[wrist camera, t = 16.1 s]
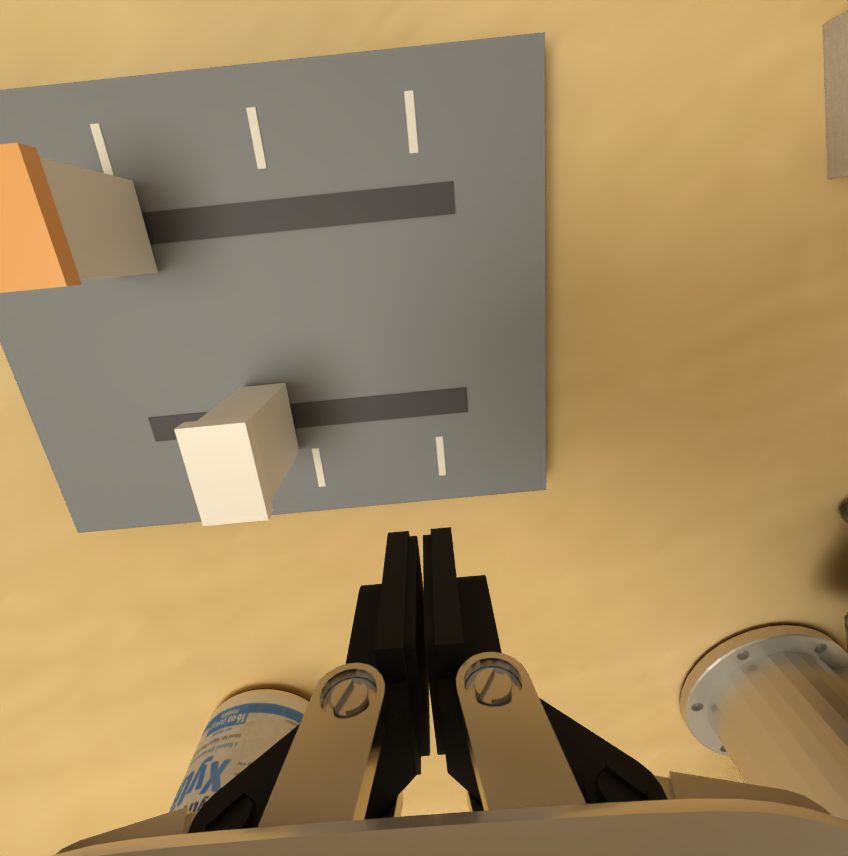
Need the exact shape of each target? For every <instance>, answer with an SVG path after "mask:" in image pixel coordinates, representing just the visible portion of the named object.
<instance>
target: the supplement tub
mask: <svg viewBox="0 0 848 856" xmlns="http://www.w3.org/2000/svg"><path fill="white" fill-rule="evenodd" d="M308 704H309V701H307V700H305V699H304V698H302V697H300V696H297V695H295V694H292V693H289V692H285V691H280V690H272V689H260V690H252V691H247V692H243V693H241V694H238V695H235V696H233V697H231V698H230V699H228V700H226V701H225V702H224V703H222V704H221V705H220V706H219V707H218V708H217V709H216V710H215V712H214V713H213V714H212V716H211V718H210V720H209V722H208V724H207V726H206V729H205V731H204V733H203V735H202V737H201V740H200V742H199V744H198V747H197V749H196V751H195V753H194V756H193V758H192V761H191V763H190V765H189V768H188V770H187V772H186V775H185V777H184V779H183V781H182V784H181V786H180V788H179V790H178V793H177V795H176V797H175V800H174V802H173V804H172V807H171V809H170V811H169V812H173V811H176V810H179V809H182V808H185V807H188V809H189V811H190V813H192V812H195V811H198V810H200V808H201V807H202V805H203V804H204V803H205V802H206V801H207V800H208V799H209V798H210V797H211V796H212V795H213V794H214V793H216V792H217V791H218V790H219V789H221V788H222V787H223V786H224V785H225V784H227V783H228V782H229V781H230V780H232V779H233V778H234V777H235V776H236V775H238V774H239V773H240V772H241V771H243V770H244V769H245V768H246V767H247V766H249V765H250V764H251V763H252V762H254V761H255V760H256V759H257V758H258V757H260V756H261V755H262V754H263V753H265V752H266V751H267V750H268V749H269V748H271V747H272V746H273V745H274V744H276V743H277V742H278V741H279V740H280V739H282V738H283V737H284V736H285V735H287V734H288V733H289V732H290V731H291V730H293V729H294V728H295V727H296V726H298V725H299V724H300V723H301V721H302V718H303V716H304V713H305V711H306V708H307V706H308Z"/></svg>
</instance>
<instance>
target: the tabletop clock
mask: <svg viewBox="0 0 848 856" xmlns="http://www.w3.org/2000/svg"><path fill="white" fill-rule="evenodd" d="M841 516H842V518H843V519H844V520H845V521H846V522H847V523H848V502H847V503H846V504H844V505H843V507H842V509H841ZM844 618H845V629H846V639H847V650H848V613H847V614H846V615H845V617H844Z"/></svg>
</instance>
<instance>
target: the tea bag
mask: <svg viewBox="0 0 848 856" xmlns="http://www.w3.org/2000/svg"><path fill="white" fill-rule="evenodd" d="M823 54H824V86H825V117H826V148H827V179H831V178H837V177H843V176H848V11H846V12H844V13H842V14H841V15H839V16H837V17H835V18H833V19H832V20H830V21H828V22H826V23H824V24H823Z"/></svg>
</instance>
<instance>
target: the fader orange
mask: <svg viewBox="0 0 848 856" xmlns="http://www.w3.org/2000/svg"><path fill="white" fill-rule="evenodd" d="M151 273H158V270H157V267H156V263H155V260H154V256H153V252H152V249H151V245H150V241H149V238H148V234H147V231H146V227H145V223H144V220H143V216H142V213H141V209H140V205H139V202H138V198H137V195H136V191H135V187H134V184H133V180H129V179H125V178H121V177H117V176H113V175H109V174H105V173H101V172H97V171H93V170H89V169H85V168H81V167H77V166H73V165H69V164H65V163H61V162H57V161H54V160H50V159H46V158H42V157H39V154H38V151H37V148H35V147H32V146H28V145H24V144H21V143H9V144H0V293H5V292H15V291H25V290H35V289H45V288H55V287H65V286H75V285H82V283H81V280H88V279H100V278H111V277H121V276H131V275H141V274H151Z"/></svg>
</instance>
